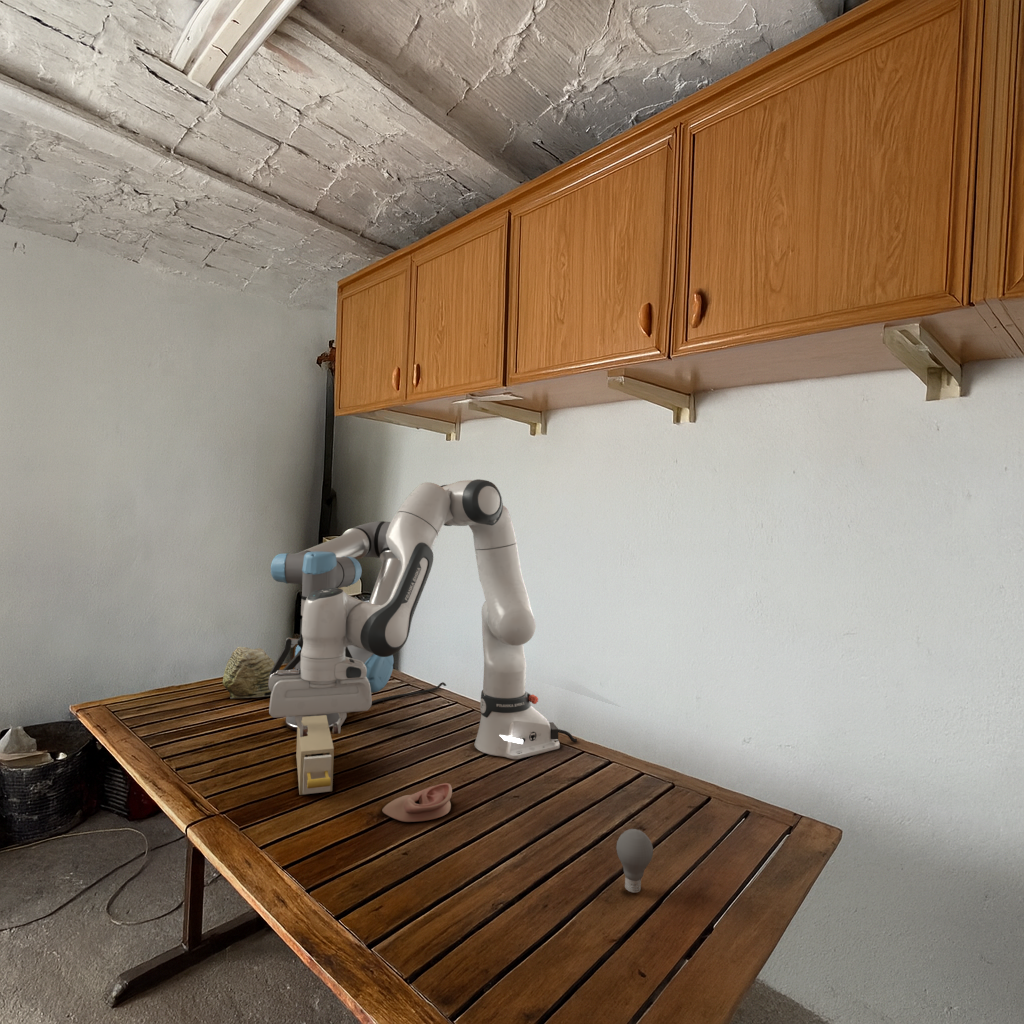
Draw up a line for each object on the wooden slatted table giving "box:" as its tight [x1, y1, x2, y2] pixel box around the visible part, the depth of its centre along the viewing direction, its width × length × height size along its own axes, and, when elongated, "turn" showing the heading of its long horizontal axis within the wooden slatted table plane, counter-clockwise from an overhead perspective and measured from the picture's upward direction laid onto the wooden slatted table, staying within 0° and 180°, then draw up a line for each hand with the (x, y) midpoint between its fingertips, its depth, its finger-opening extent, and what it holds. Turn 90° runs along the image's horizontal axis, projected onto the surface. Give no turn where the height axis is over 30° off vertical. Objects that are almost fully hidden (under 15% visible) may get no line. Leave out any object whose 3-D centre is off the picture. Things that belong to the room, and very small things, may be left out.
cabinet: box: [295, 715, 335, 796], centre depth 145 cm, size 22×7×9 cm, turn 21°
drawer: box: [303, 753, 332, 795], centre depth 140 cm, size 26×6×8 cm, turn 21°
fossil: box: [222, 646, 276, 699], centre depth 198 cm, size 9×18×15 cm, turn 132°
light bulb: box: [615, 828, 654, 894], centre depth 106 cm, size 6×6×10 cm
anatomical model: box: [382, 782, 453, 823], centre depth 130 cm, size 13×4×12 cm
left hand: (313, 706), depth 151 cm, fingers open, 13 cm apart
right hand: (320, 734), depth 131 cm, fingers open, 5 cm apart
